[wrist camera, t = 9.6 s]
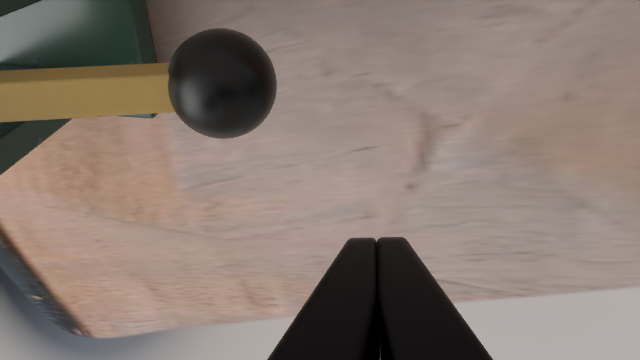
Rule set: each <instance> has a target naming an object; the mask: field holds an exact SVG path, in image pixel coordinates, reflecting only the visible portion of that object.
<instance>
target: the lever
mask: <svg viewBox="0 0 640 360" xmlns="http://www.w3.org/2000/svg"><path fill="white" fill-rule="evenodd" d="M276 87H277V81H276V74H275V70H274V67H273V65H272V62H271V60H270V58H269V56H268V55H267V53H266V52H265V51H264V49H263V48H262V47H261V46H260V45H259V44H258V43H257V42H256V41H254V40H253V39H252V38H250V37H248V36H247V35H245V34H243V33H240V32H238V31H234V30H230V29H220V28H217V29H209V30H205V31H202V32H199V33H197V34H195V35H193V36H191V37H190V38H188V39H187V40H186V41H184V42H183V43H182V44H181V45H180V46H179V48H178V49H177V50H176V52H175V53H174V55H173V57H172V59H171V61H170V63H151V64H130V65H109V66H88V67H66V68H45V69H24V70H3V71H0V122H14V121H32V120H49V119H66V118H84V117H101V116H118V115H135V114H153V113H170V112H176V113H177V115H178V116H179V117H180V119H181V120H182V121H183V122H184V123H185V124H186V125H188V126H189V127H190V128H192V129H193V130H195V131H196V132H199V133H201V134H203V135H206V136H209V137H213V138H221V139H224V138H234V137H238V136H241V135H244V134H246V133H248V132H250V131H252V130H253V129H255V128H256V127H257V126H259V125H260V124H261V123H262V122H263V121H264V119H265V118H266V117H267V116H268V114H269V112H270V111H271V108H272V106H273V104H274V100H275V97H276Z"/></svg>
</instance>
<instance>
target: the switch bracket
mask: <svg viewBox="0 0 640 360" xmlns="http://www.w3.org/2000/svg"><path fill="white" fill-rule="evenodd" d="M151 63H156V58H155V52H154V47H153V42H152V36H151V31H150V26H149V21H148V15H147V10H146V5H145V0H0V71H3V70H24V69H45V68H66V67H88V66H109V65H130V64H151ZM157 114H158V113H153V114H135V115H118V116H125V117H140V118H154V117H155V116H156V115H157ZM71 119H72V118H66V119H49V120H32V121H14V122H0V175H1V174H2V173H4V172H5V171H6V170H8V169H9V168H10V167H11V166H13V165H14V164H15V163H16V162H18V161H19V160H20V159H22V158H23V157H24V156H25V155H27V154H28V153H29V152H30V151H32V150H33V149H34V148H36V147H37V146H38V145H39V144H41V143H42V142H43V141H44V140H46V139H47V138H48V137H50V136H51V135H52V134H53V133H55V132H56V131H57V130H58V129H60V128H61V127H62V126H63V125H65V124H66V123H67V122H69V121H70V120H71Z"/></svg>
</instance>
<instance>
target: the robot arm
mask: <svg viewBox="0 0 640 360" xmlns="http://www.w3.org/2000/svg"><path fill="white" fill-rule="evenodd" d="M380 357H381V360H493V359H492V358H491V356H490V355H489V354H488V352H487V351H486V349H485V348H484V347H483V345H482V344H481V342H480V341H479V340H478V339H477V337H476V335H475V334H474V333H473V331H472V330H471V329H470V327H469V326H468V324H467V323H466V322H465V320H464V319H463V317H462V316H461V315H460V313H459V312H458V311H457V309H456V308H455V306H454V305H453V304H452V302H451V301H450V299H449V298H448V297H447V295H446V294H445V293H444V291H443V290H442V288H441V287H440V286H439V284H438V283H437V281H436V280H435V279H434V277H433V276H432V275H431V273H430V272H429V270H428V269H427V268H426V266H425V265H424V263H423V262H422V261H421V259H420V258H419V257H418V255H417V254H416V252H415V251H414V250H413V248H412V247H411V245H410V244H409V243H408V241H407V240H406V239H405V238H403V237H382V238H379V239H378V240H377V242H376V240H375V239H374V238H351V239H349V240H348V241H347V242H346V244H345V245H344V247H343V248H342V250H341V251H340V252H339V254H338V255H337V257H336V258H335V260H334V261H333V263H332V264H331V266H330V267H329V269H328V270H327V272H326V273H325V275H324V276H323V278H322V279H321V281H320V282H319V284H318V285H317V287H316V288H315V290H314V291H313V293H312V294H311V296H310V297H309V299H308V300H307V301H306V303H305V304H304V306H303V307H302V309H301V310H300V312H299V313H298V315H297V316H296V318H295V319H294V321H293V323H292V324H291V325H290V327H289V328H288V330H287V331H286V333H285V334H284V336H283V337H282V339H281V340H280V342H279V343H278V345H277V346H276V348H275V349H274V351H273V352H272V354H271V355H270V356H269V358H268V359H267V360H380Z"/></svg>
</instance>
